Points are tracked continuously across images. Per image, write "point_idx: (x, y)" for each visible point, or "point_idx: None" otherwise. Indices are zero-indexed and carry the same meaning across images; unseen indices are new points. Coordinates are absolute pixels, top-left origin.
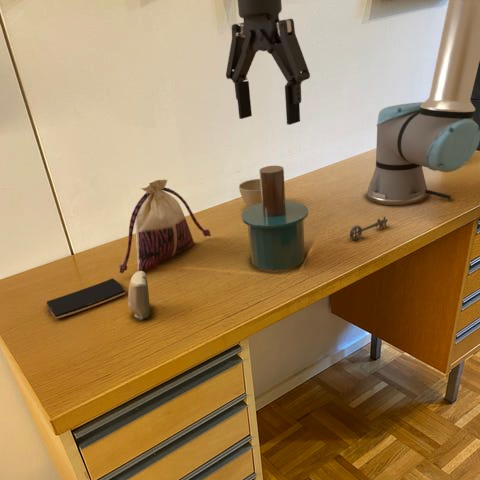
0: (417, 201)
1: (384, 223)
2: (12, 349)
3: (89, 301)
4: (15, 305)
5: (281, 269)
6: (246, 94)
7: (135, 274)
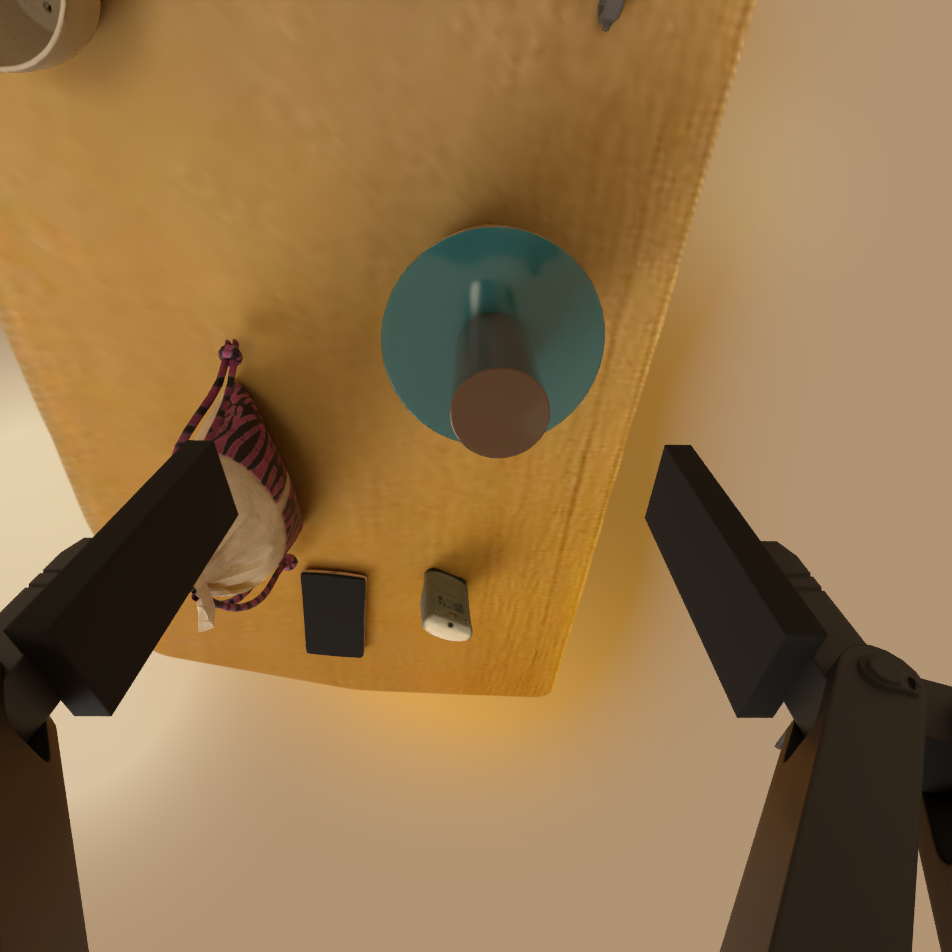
0: None
1: None
2: (390, 691)
3: (355, 620)
4: (267, 665)
5: None
6: (139, 569)
7: (432, 631)
